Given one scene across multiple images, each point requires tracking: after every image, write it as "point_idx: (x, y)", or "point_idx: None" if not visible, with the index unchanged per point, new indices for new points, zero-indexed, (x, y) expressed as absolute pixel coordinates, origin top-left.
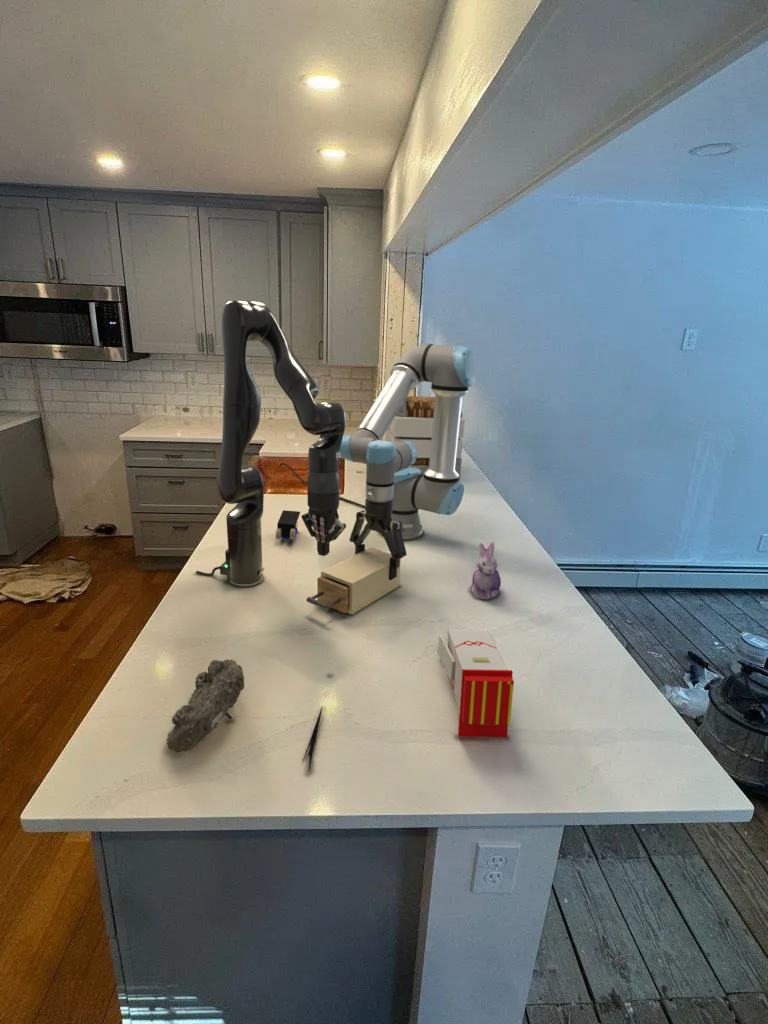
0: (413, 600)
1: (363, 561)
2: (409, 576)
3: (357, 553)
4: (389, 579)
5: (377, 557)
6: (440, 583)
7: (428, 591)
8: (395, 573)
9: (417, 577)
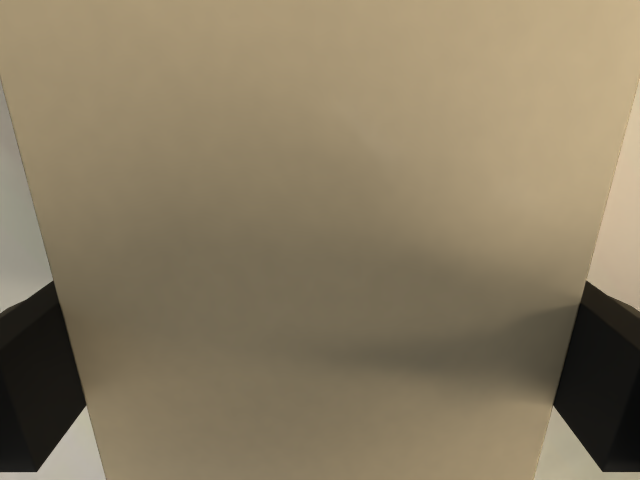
0: (15, 220)
1: (364, 114)
2: None
3: (595, 295)
4: None
5: (297, 343)
6: (77, 456)
7: None
8: None
9: None
